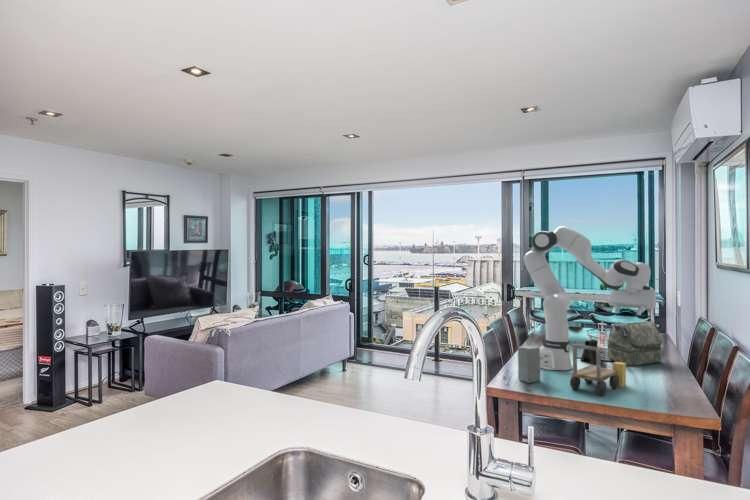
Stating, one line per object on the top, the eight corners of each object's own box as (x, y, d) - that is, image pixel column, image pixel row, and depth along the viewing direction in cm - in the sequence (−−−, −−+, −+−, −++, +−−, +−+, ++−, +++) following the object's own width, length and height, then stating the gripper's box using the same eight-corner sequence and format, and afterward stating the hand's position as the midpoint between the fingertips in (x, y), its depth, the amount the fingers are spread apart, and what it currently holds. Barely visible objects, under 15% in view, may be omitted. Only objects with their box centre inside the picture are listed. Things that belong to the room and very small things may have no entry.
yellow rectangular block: (612, 385, 202) (612, 363, 202) (616, 383, 205) (616, 361, 205) (622, 387, 199) (622, 364, 199) (625, 385, 202) (625, 363, 202)
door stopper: (602, 363, 239) (602, 341, 239) (594, 365, 236) (594, 342, 236) (588, 360, 247) (587, 338, 247) (580, 361, 245) (580, 339, 245)
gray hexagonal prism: (528, 383, 205) (528, 349, 205) (516, 379, 212) (516, 346, 212) (541, 381, 209) (541, 347, 209) (529, 377, 216) (529, 344, 216)
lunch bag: (630, 368, 230) (630, 325, 230) (602, 359, 248) (601, 320, 247) (667, 363, 239) (667, 322, 238) (637, 355, 256) (637, 317, 256)
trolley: (570, 390, 196) (569, 343, 196) (589, 380, 209) (589, 337, 209) (600, 397, 186) (600, 348, 186) (619, 386, 199) (618, 341, 199)
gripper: (610, 285, 223) (602, 306, 216) (656, 288, 207) (649, 311, 201) (613, 293, 226) (606, 315, 219) (660, 296, 210) (653, 319, 204)
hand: (627, 313), depth 210 cm, fingers open, 8 cm apart
